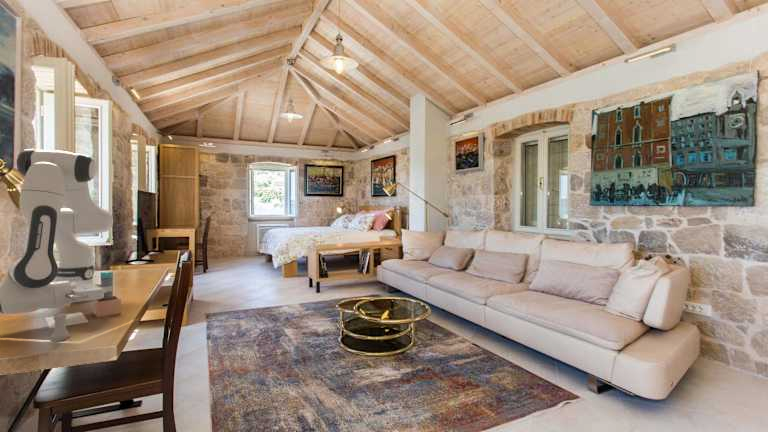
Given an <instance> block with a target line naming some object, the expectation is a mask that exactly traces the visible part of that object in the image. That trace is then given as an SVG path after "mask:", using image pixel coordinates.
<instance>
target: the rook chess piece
mask: <svg viewBox="0 0 768 432" xmlns="http://www.w3.org/2000/svg"><path fill="white" fill-rule="evenodd" d="M66 317H67V315H66V312H61V313H56V314H54V317H53V319H54V320H55V322H54V324H55V328H53V329H54V330H53V333H52V334H51V336H50V338H51V339H50V342H51V343H54V344H55V343H62V342H66V341H67V340H65V339H68V338H69V337H70V332H69V331H68V329H67V326H66V325H65V322H66V320H65V319H66Z"/></svg>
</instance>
